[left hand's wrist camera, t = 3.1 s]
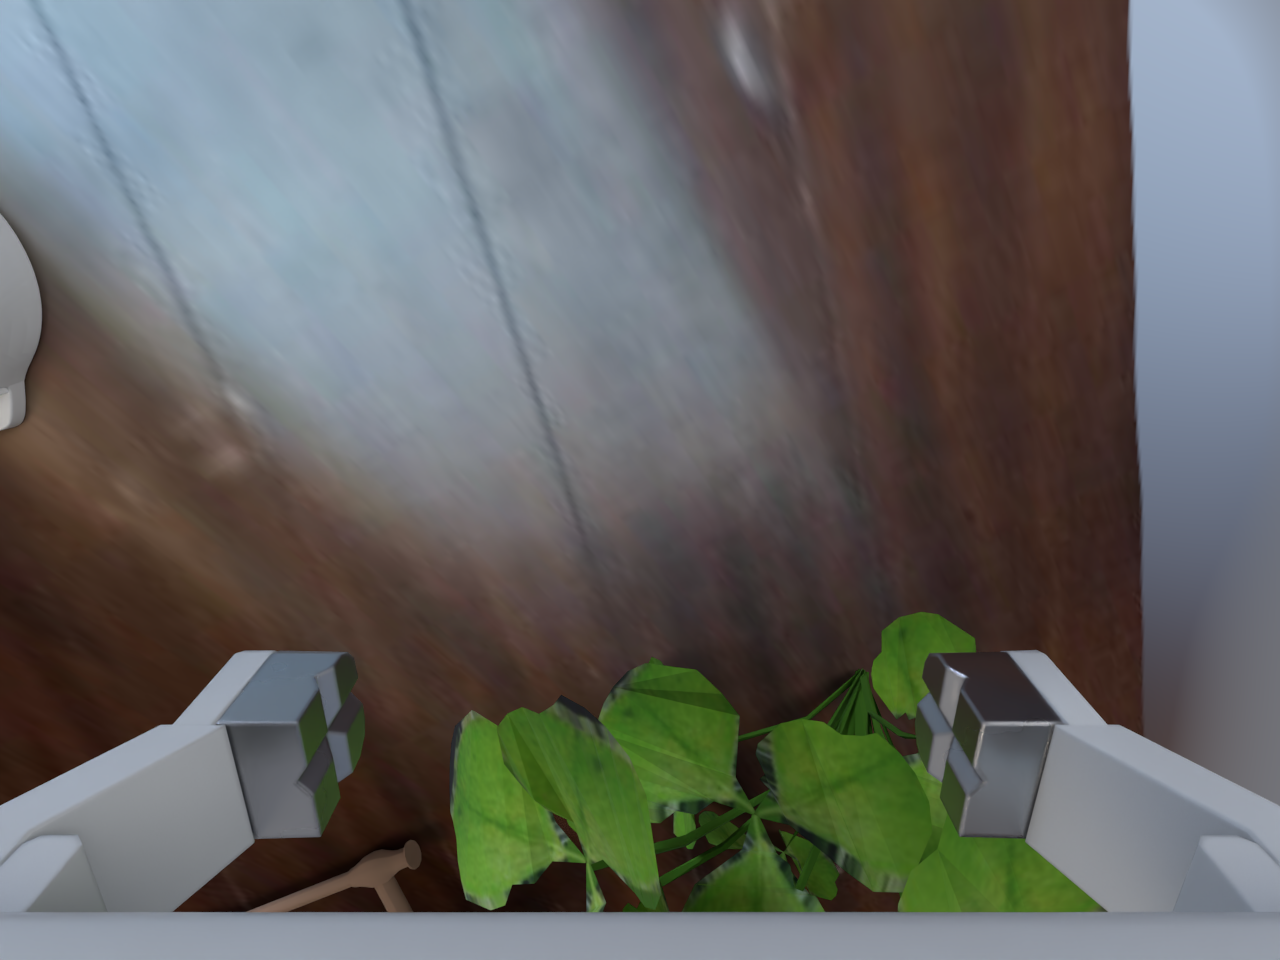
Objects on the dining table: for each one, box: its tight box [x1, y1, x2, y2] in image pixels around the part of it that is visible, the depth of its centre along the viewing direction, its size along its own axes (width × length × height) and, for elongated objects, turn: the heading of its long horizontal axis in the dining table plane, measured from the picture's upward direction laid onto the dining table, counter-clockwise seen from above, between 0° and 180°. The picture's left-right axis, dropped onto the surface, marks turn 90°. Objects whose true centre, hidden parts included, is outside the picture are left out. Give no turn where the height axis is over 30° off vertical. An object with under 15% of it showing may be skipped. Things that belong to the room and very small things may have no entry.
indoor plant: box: [450, 612, 1108, 912], centre depth 42 cm, size 44×42×30 cm
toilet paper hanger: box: [247, 840, 421, 912], centre depth 60 cm, size 27×11×8 cm, turn 117°
